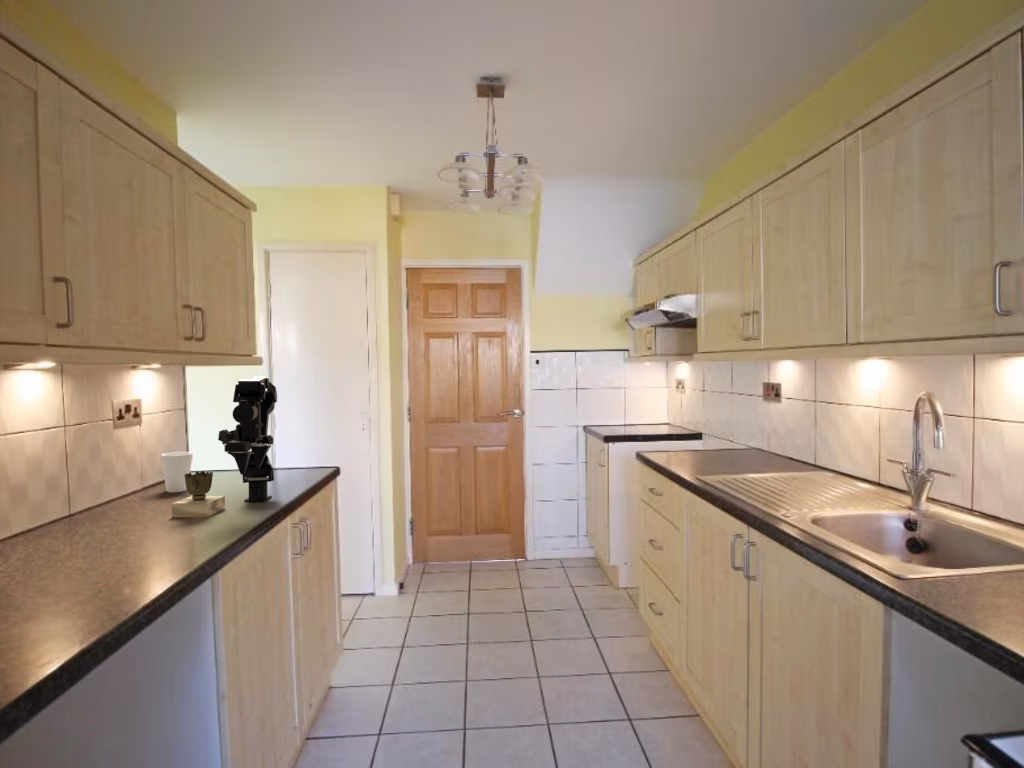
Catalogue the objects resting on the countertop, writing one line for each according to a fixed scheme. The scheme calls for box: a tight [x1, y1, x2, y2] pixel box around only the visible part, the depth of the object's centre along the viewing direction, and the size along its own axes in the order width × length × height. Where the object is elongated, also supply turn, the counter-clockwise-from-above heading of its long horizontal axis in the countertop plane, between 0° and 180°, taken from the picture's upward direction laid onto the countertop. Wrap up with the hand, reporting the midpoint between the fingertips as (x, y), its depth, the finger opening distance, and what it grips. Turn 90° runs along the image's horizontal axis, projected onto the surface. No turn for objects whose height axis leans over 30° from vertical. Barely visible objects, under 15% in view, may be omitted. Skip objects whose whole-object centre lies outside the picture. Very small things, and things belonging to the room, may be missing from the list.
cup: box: [184, 470, 214, 501], centre depth 163 cm, size 8×7×8 cm
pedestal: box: [171, 495, 226, 518], centre depth 163 cm, size 10×10×4 cm
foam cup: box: [160, 451, 194, 493], centre depth 193 cm, size 10×9×13 cm
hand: (250, 471), depth 167 cm, fingers open, 9 cm apart
